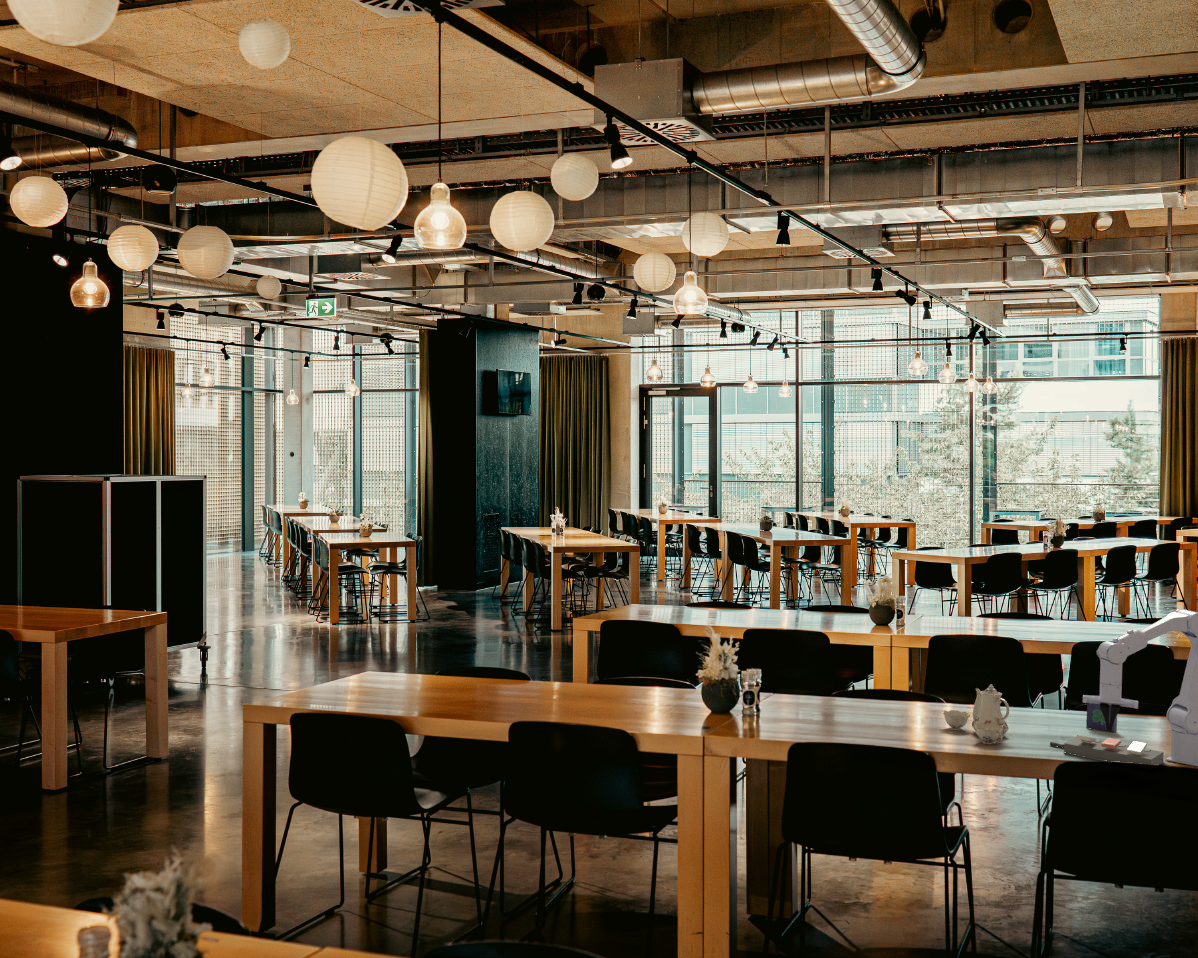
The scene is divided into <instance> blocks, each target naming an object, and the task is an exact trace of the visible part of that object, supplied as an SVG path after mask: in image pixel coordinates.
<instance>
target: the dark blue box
mask: <svg viewBox="0 0 1198 958" xmlns="http://www.w3.org/2000/svg"><path fill="white" fill-rule="evenodd" d="M1110 712H1111V705H1110V708H1109V723H1110ZM1085 722H1086V723H1085V724H1086V729H1088V728H1091V729H1090V730H1093V729H1095V731H1101V732H1106V733H1107V732H1108V733H1114V732H1115V733H1117V731H1118V730H1117V729H1118V727H1117V726H1118V724H1117V723H1118V715H1117V716H1116V718H1115V720H1114V723H1113V727H1112V731H1108V730H1107V728H1106V722H1105V719H1104V716H1103V713H1102V711H1101V709H1100V704H1095V703H1086V721H1085Z"/></svg>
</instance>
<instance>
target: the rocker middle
mask: <svg viewBox="0 0 1198 958" xmlns="http://www.w3.org/2000/svg"><path fill="white" fill-rule="evenodd" d="M1102 741H1103V742H1102V743H1101V747H1107V748H1112V749H1115V748H1117V746H1119V745H1120V744H1122V740H1121V739H1118V738H1111V737H1107V738H1106V739H1105V740H1102Z"/></svg>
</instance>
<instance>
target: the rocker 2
mask: <svg viewBox="0 0 1198 958" xmlns="http://www.w3.org/2000/svg"><path fill="white" fill-rule="evenodd" d="M1128 746H1129V747H1128V749H1127V753H1132V754H1137V755H1141V754H1142V753H1143V751H1144V750H1145V748H1146V749H1147V747H1148V744H1147V742H1141V741H1135V740H1133V741H1132V742H1131V744H1130V745H1128Z"/></svg>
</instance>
